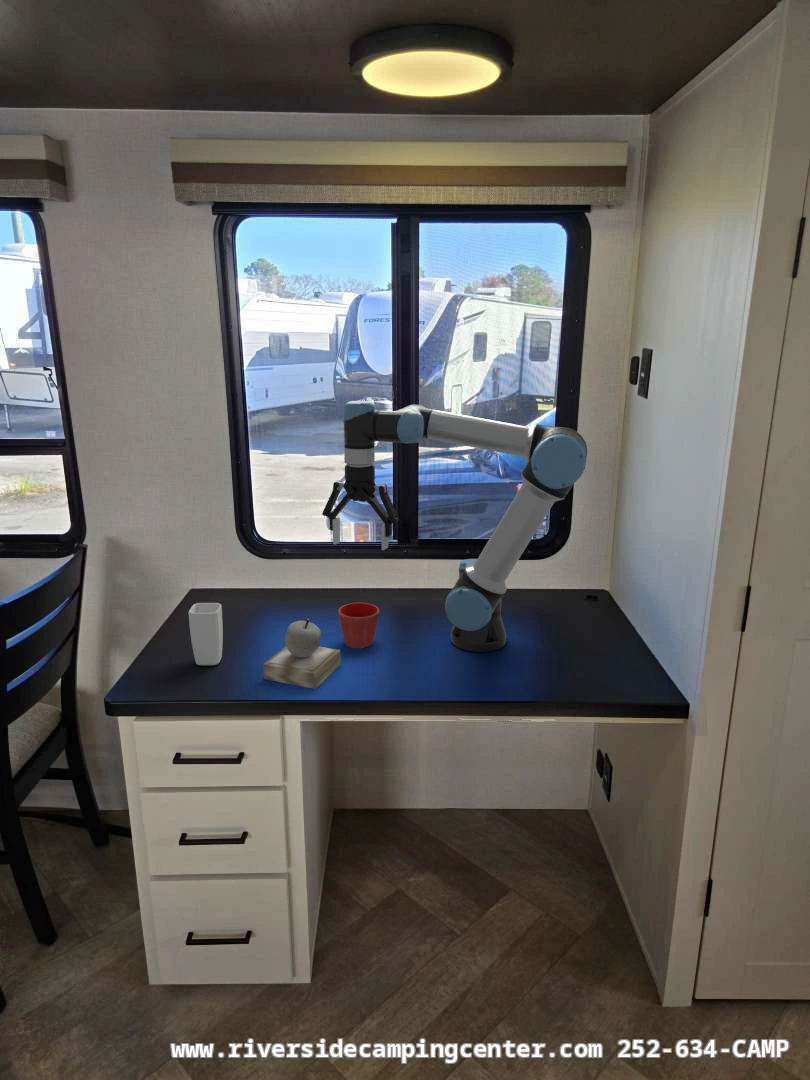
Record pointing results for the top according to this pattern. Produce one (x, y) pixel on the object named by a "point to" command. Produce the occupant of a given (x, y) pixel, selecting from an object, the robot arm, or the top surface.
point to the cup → (206, 633)
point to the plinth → (302, 667)
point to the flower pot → (358, 624)
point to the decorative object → (302, 638)
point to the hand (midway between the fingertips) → (360, 545)
